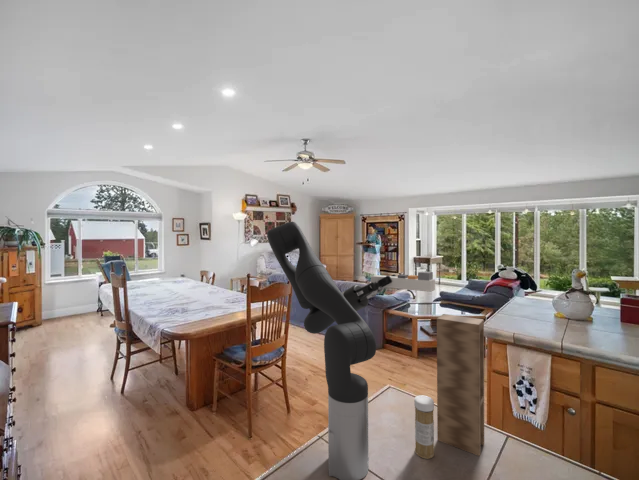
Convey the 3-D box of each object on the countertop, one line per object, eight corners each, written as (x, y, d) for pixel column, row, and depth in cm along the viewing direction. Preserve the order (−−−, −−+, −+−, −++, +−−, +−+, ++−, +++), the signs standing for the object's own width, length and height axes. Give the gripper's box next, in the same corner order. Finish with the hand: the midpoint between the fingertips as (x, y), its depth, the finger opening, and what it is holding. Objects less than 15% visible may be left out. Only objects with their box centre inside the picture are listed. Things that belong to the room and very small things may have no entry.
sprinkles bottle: (421, 444, 80) (421, 392, 80) (438, 454, 76) (437, 399, 76) (411, 452, 77) (410, 398, 77) (427, 462, 73) (427, 406, 73)
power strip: (371, 285, 95) (370, 269, 95) (376, 284, 98) (376, 268, 97) (430, 291, 84) (430, 273, 84) (434, 290, 86) (434, 272, 86)
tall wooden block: (437, 440, 82) (436, 318, 82) (444, 429, 86) (443, 313, 86) (479, 456, 76) (478, 324, 75) (484, 443, 80) (483, 319, 80)
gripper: (333, 293, 97) (376, 268, 88) (357, 287, 108) (397, 264, 99) (343, 316, 95) (389, 292, 85) (366, 307, 106) (408, 286, 97)
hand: (393, 277), depth 92 cm, fingers closed on power strip, 3 cm apart
